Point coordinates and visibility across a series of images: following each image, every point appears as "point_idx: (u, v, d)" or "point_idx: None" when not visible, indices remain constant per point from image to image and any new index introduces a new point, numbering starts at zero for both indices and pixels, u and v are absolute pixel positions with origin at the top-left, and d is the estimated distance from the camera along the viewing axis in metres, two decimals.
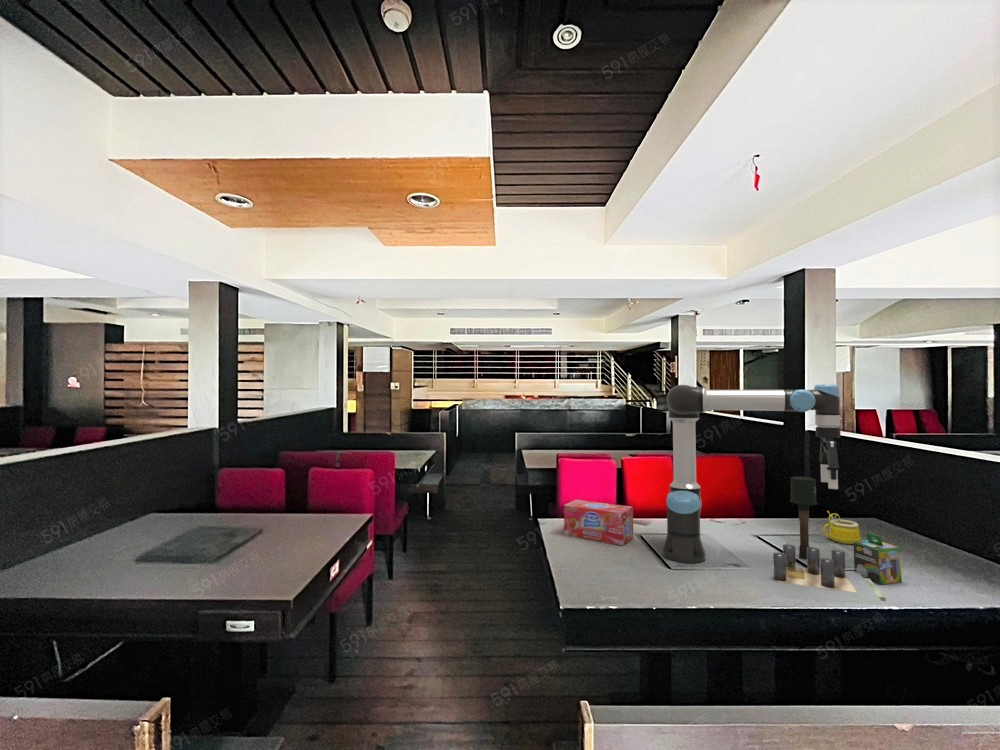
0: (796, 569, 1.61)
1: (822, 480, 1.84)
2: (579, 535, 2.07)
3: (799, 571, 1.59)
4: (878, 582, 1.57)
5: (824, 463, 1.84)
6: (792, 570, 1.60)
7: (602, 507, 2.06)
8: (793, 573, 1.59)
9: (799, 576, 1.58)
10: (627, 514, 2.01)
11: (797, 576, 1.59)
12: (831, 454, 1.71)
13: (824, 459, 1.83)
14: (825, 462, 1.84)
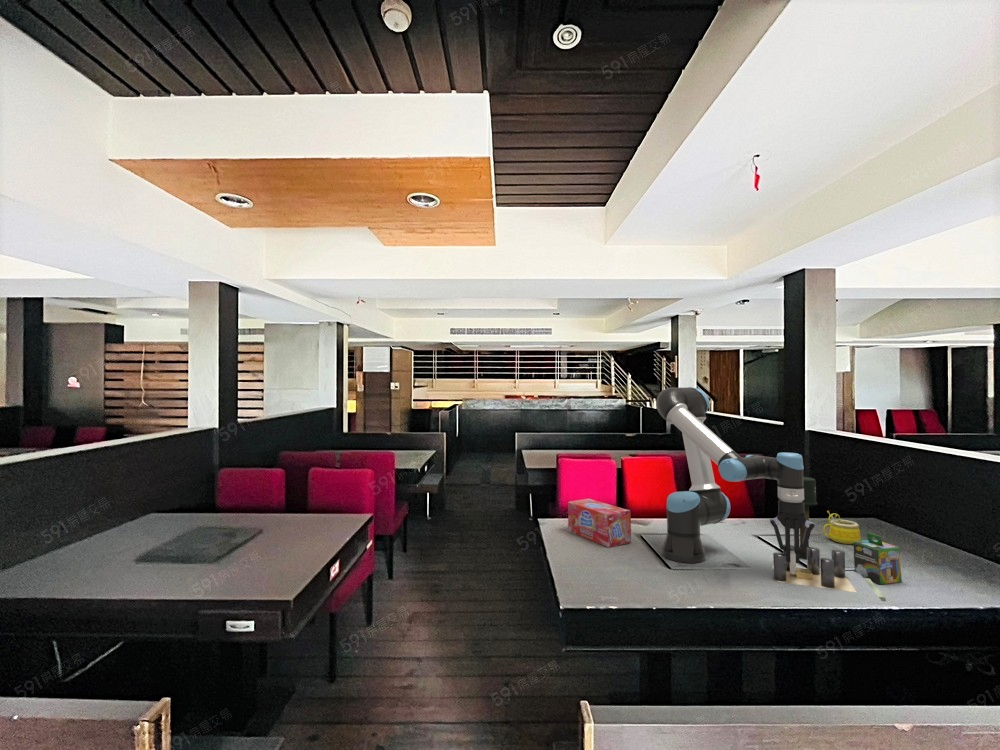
0: (804, 570, 1.60)
1: None
2: (578, 533, 2.11)
3: (807, 572, 1.58)
4: (878, 582, 1.57)
5: None
6: (800, 571, 1.59)
7: (598, 507, 2.05)
8: (801, 574, 1.58)
9: (807, 577, 1.58)
10: (617, 517, 1.97)
11: (805, 577, 1.58)
12: (775, 533, 1.64)
13: (794, 543, 1.61)
14: None
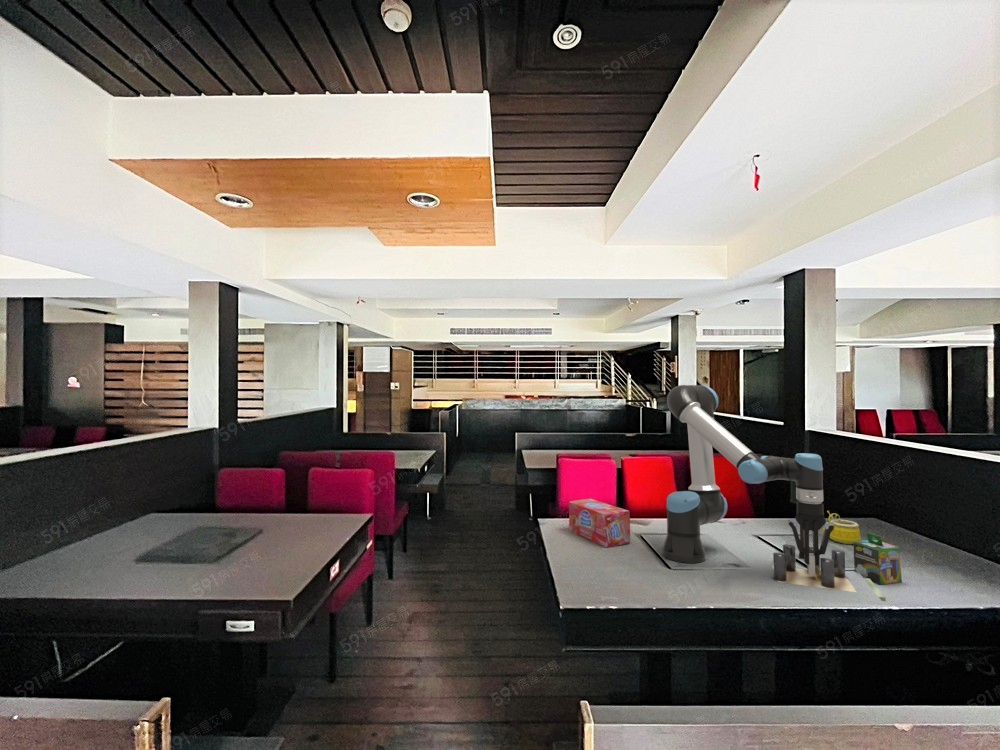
0: None
1: None
2: (578, 532, 2.11)
3: None
4: (878, 582, 1.57)
5: (813, 553, 1.59)
6: (819, 574, 1.57)
7: (597, 507, 2.05)
8: (820, 576, 1.56)
9: None
10: (615, 517, 1.96)
11: None
12: None
13: (813, 545, 1.59)
14: None
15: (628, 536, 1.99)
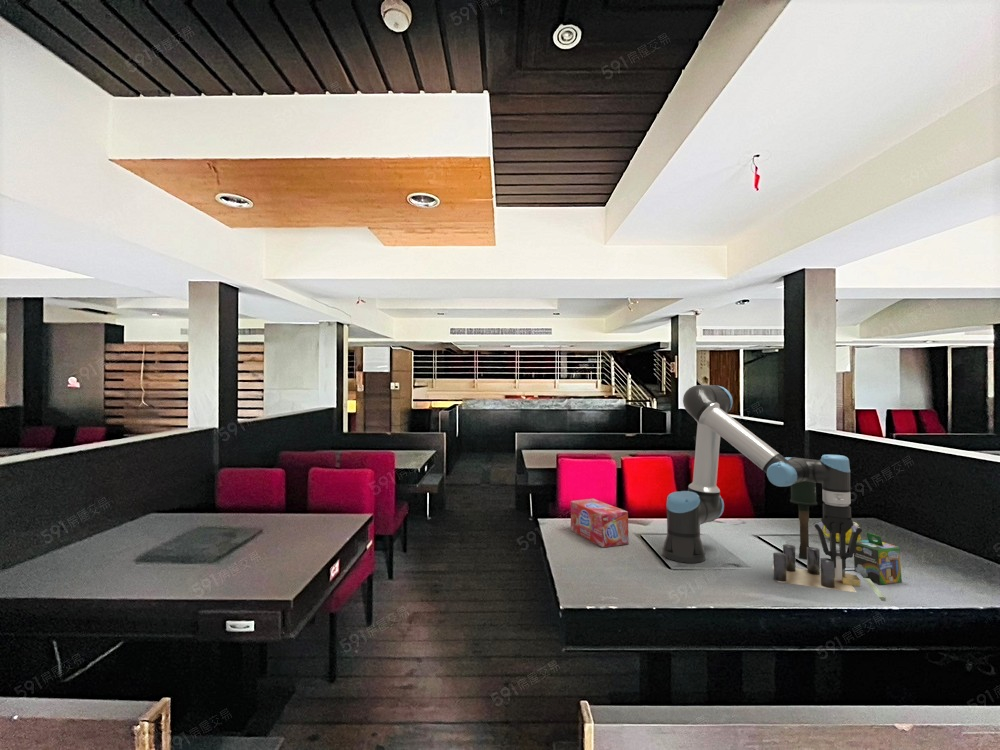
0: (850, 576, 1.55)
1: None
2: (578, 532, 2.12)
3: (854, 578, 1.53)
4: (878, 582, 1.57)
5: (840, 556, 1.56)
6: (846, 577, 1.54)
7: (596, 507, 2.05)
8: (848, 580, 1.53)
9: (854, 583, 1.53)
10: (612, 517, 1.96)
11: (852, 583, 1.53)
12: None
13: (840, 548, 1.56)
14: None
15: (626, 537, 1.98)
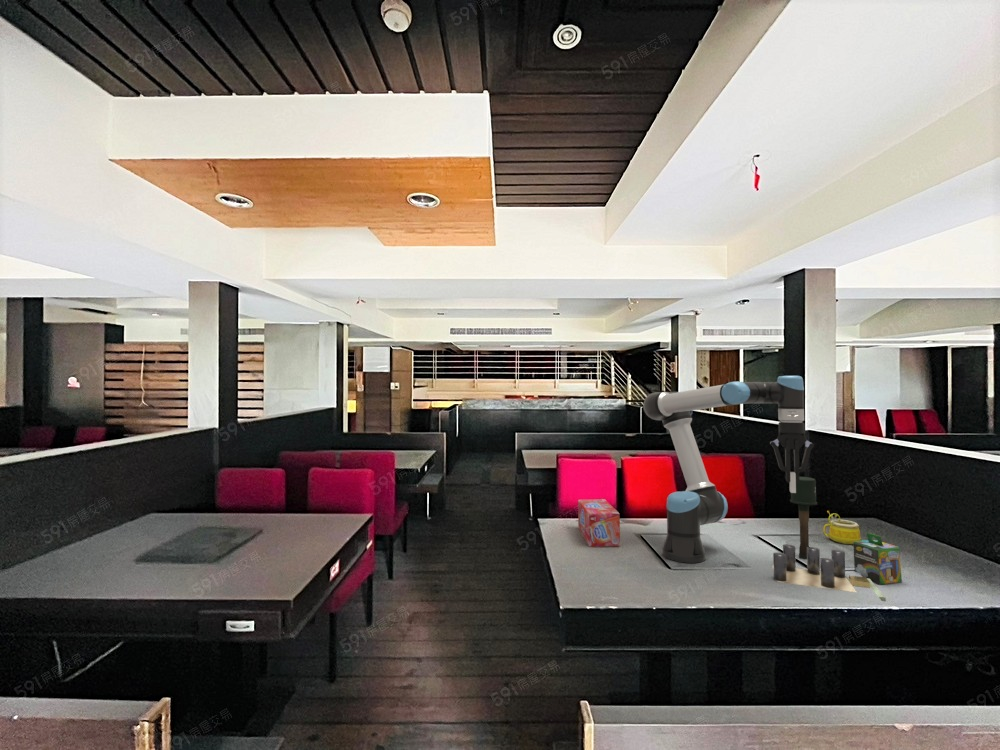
0: (860, 578, 1.54)
1: None
2: (580, 530, 2.14)
3: (864, 580, 1.52)
4: (878, 582, 1.57)
5: (794, 471, 1.64)
6: (856, 580, 1.53)
7: (593, 507, 2.06)
8: (857, 582, 1.52)
9: (864, 586, 1.52)
10: (601, 517, 1.95)
11: (862, 586, 1.52)
12: None
13: (794, 463, 1.64)
14: None
15: (617, 539, 1.95)
